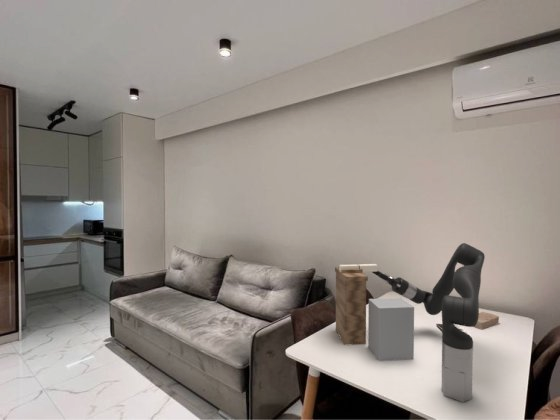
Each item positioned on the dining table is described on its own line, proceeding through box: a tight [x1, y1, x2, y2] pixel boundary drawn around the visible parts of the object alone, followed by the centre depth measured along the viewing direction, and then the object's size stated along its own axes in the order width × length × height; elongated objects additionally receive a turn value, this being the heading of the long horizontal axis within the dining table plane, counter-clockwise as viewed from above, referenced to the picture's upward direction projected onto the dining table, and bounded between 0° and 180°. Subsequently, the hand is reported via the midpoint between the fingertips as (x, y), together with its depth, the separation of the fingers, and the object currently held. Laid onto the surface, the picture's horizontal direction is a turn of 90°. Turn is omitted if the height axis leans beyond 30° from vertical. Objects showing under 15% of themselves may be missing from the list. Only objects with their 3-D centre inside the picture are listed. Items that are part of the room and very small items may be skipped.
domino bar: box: [338, 263, 379, 273], centre depth 150 cm, size 18×3×3 cm, turn 94°
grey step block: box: [367, 297, 415, 362], centre depth 135 cm, size 15×12×22 cm
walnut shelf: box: [334, 266, 369, 345], centre depth 151 cm, size 10×20×34 cm, turn 4°
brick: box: [473, 311, 500, 330], centre depth 166 cm, size 16×8×5 cm, turn 118°
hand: (376, 272), depth 151 cm, fingers open, 8 cm apart
